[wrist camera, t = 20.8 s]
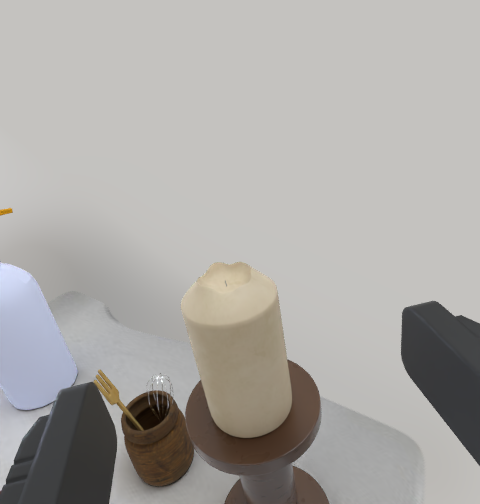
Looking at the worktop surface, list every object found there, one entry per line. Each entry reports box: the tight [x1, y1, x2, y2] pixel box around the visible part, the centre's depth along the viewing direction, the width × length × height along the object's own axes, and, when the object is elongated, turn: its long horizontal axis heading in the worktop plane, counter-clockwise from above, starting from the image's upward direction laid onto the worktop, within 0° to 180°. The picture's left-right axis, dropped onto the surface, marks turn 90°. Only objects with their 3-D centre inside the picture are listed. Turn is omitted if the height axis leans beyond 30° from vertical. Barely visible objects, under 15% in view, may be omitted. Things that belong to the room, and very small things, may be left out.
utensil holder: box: [94, 370, 194, 486], centre depth 36 cm, size 6×6×12 cm
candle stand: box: [185, 360, 329, 504], centre depth 28 cm, size 9×9×14 cm
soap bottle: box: [0, 208, 78, 410], centre depth 46 cm, size 9×9×24 cm
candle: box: [181, 262, 292, 438], centre depth 23 cm, size 6×6×10 cm
